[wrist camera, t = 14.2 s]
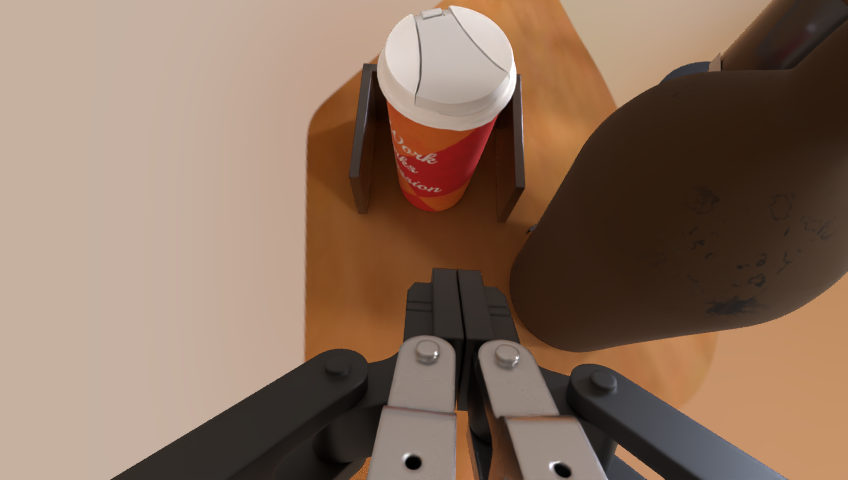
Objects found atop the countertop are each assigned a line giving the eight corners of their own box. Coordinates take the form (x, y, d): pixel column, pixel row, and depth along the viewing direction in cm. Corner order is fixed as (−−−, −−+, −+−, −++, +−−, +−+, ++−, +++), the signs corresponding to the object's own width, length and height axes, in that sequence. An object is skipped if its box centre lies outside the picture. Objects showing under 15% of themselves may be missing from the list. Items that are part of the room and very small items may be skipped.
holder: (503, 122, 38) (521, 73, 32) (505, 223, 34) (525, 188, 28) (369, 113, 37) (363, 62, 32) (358, 213, 34) (348, 176, 28)
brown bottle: (664, 333, 31) (1419, 139, 8) (535, 382, 30) (1005, 316, 6) (599, 210, 35) (992, -180, 11) (479, 247, 33) (654, -115, 10)
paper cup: (375, 154, 36) (358, 13, 23) (461, 133, 37) (491, -14, 24) (402, 236, 33) (400, 131, 20) (492, 211, 34) (546, 95, 21)
